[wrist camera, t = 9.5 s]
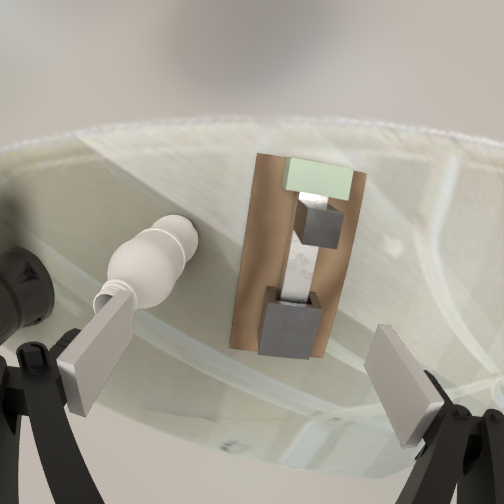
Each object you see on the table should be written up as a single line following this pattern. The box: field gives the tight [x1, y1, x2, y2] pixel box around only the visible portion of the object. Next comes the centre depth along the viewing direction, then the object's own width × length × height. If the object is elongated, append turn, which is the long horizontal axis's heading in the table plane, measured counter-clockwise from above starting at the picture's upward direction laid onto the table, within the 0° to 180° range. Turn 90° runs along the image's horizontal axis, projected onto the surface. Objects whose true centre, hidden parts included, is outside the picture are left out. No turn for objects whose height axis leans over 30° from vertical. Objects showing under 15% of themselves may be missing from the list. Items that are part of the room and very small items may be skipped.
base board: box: [229, 153, 367, 358], centre depth 48 cm, size 16×31×1 cm, turn 172°
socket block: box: [282, 157, 354, 201], centre depth 41 cm, size 8×4×6 cm, turn 82°
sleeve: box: [258, 286, 322, 360], centre depth 47 cm, size 8×8×6 cm
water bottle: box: [93, 215, 198, 314], centre depth 35 cm, size 7×7×25 cm
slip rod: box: [276, 191, 344, 304], centre depth 40 cm, size 4×21×12 cm, turn 172°
